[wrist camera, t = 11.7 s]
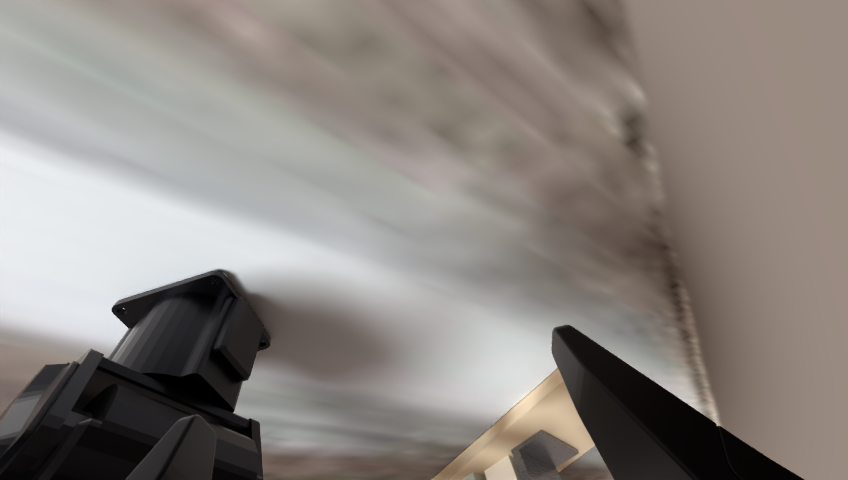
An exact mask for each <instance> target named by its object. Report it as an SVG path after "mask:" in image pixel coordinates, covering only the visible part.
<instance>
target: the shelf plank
mask: <svg viewBox="0 0 848 480" xmlns="http://www.w3.org/2000/svg"><path fill="white" fill-rule="evenodd" d="M540 430H543V431H545V432H547V433H549V434H550V435H552V436H554V437H556V438H558V439H560V440H561V441H563V442H565V443H567V444H569V445H570V446H572V447H574V448H576V449H577V450H578V452H579V454H577V455H575V456H574V457H572V458H571V459H569V460H567V461H566V462H564V463H563V464H561V465H560V466H558V467H556V468H557V470H558V473H559V472H560V471H561V470H563V469H564V468H565V467H567V466H568V465H569V464H571V463H572V462H573V461H575V460H576V459H577V458H579V457H580V456H581V455H583V454H584V453H585V452H587V451H588V450H590V449H591V448H592V447H594V446H595V444H594V442H593V440H592V439H591V437H590V435H589V433H588V432H587V430H586V428H585V426H584V424H583V422H582V421H581V419H580V417H579V415H578V413H577V411H576V408H575V406H574V404H573V401H572V399H571V397H570V394H569V392H568V390H567V388H566V385H565V383H564V381H563V378H562V376H561V374H560V371H559V369H557V370H555V371H554V372H553V373H552V374H551V375H550V376H549V377H548V378H546V379H545V380H544V381H543V382H542V383H541V384H540V385H538V386H537V387H536V388H535V389H534V390H533V391H532V392H530V393H529V394H528V395H527V396H526V397H525V398H524V399H522V400H521V401H520V402H519V403H518V404H517V405H516V406H515V407H513V408H512V409H511V410H510V411H509V412H508V413H507V414H505V415H504V416H503V417H502V418H501V419H500V420H499V421H497V422H496V423H495V424H494V425H493V426H492V427H491V428H489V429H488V430H487V431H486V432H485V433H484V434H483V435H482V436H480V437H479V438H478V439H477V440H476V441H475V442H474V443H472V444H471V445H470V446H469V447H468V448H467V449H466V450H464V451H463V452H462V453H461V454H460V455H459V456H458V457H456V458H455V459H454V460H453V461H452V462H451V463H450V464H449V465H447V466H446V467H445V468H444V469H443V470H442V471H441V472H439V473H438V474H437V475H436V476H435V477H434V478H433V479H431V480H462V479H463V478H465V477H466V476H468V475H469V474H471V473H472V472H474V473H477V474H479V475H482V476H484V477H486V476H485V472H484V471H485V470H487V469H488V468H490V467H491V466H493V465H494V464H496V463H497V462H499V461H500V460H501V459H503V458H504V457H506V456H507V455H509V456H511V457H513V454H512V452H511V449H513V448H514V447H516V446H517V445H519V444H520V443H522V442H523V441H525V440H526V439H528V438H529V437H531V436H532V435H534V434H535V433H537V432H538V431H540Z"/></svg>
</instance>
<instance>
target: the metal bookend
mask: <svg viewBox="0 0 848 480" xmlns="http://www.w3.org/2000/svg"><path fill="white" fill-rule="evenodd" d="M511 452H512V454H513V457H514V460H515V462H516V465H517V468H518V470H519V473H520V476H521V478H522V480H562V479H561V477H560V475H559V473H558V470H557V468H556V467H558V466H560V465H561V464H563V463H564V462H566V461H567V460H569V459H571V458H572V457H574V456H575V455H577V454H579V452H578V450H577V449H576V448H574V447H572V446H570V445H569V444H567V443H565V442H563V441H561V440H560V439H558V438H556V437H554V436H552V435H550V434H549V433H547V432H545V431H543V430H540V431H538V432H537V433H535V434H534V435H532V436H531V437H529V438H528V439H526V440H525V441H523V442H522V443H520V444H519V445H517V446H516V447H514V448H513V449H511Z"/></svg>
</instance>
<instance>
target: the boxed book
mask: <svg viewBox="0 0 848 480" xmlns="http://www.w3.org/2000/svg"><path fill="white" fill-rule="evenodd" d="M484 472H485V476H486V479H487V480H522V478H521V476H520V473H519V470H518V468H517V465H516V462H515V460H514V457H511V456H509V455H507V456H506V457H504V458H503V459H501V460H500V461H499V462H497V463H496V464H494V465H493V466H491V467H490V468H488V469H487V470H485V471H484Z"/></svg>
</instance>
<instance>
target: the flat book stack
mask: <svg viewBox="0 0 848 480" xmlns="http://www.w3.org/2000/svg"><path fill="white" fill-rule="evenodd" d="M462 480H487V479H486V477H484V476H482V475H479V474H477V473H474V472H472V473H471V474H469V475H468V476H466V477H465V478H463V479H462Z"/></svg>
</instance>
